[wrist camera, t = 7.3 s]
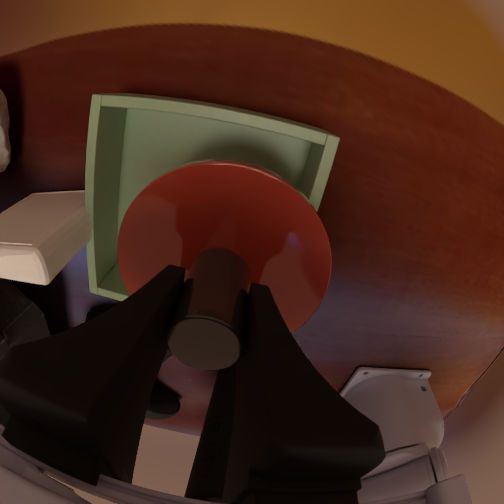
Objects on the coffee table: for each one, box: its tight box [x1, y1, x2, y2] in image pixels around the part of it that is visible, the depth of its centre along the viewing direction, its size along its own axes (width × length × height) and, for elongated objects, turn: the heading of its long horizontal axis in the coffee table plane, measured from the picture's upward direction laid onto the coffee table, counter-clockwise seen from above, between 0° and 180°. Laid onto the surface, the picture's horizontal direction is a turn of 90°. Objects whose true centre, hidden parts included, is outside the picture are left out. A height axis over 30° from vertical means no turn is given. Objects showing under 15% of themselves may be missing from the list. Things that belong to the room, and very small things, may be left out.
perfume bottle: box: [0, 190, 92, 285], centre depth 13 cm, size 8×2×12 cm, turn 88°
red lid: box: [117, 159, 332, 370], centre depth 11 cm, size 9×9×5 cm
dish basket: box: [85, 93, 340, 301], centre depth 17 cm, size 12×12×4 cm
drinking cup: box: [184, 363, 236, 503], centre depth 18 cm, size 8×8×20 cm
